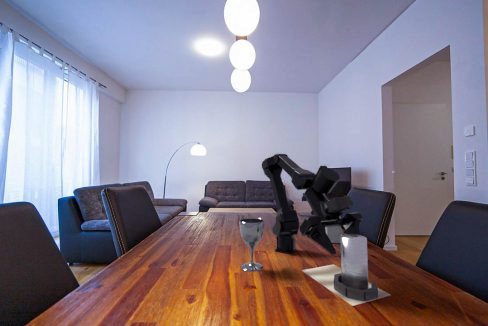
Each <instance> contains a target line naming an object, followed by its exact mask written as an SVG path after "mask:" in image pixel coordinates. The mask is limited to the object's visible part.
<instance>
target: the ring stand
mask: <svg viewBox="0 0 488 326" xmlns="http://www.w3.org/2000/svg"><path fill="white" fill-rule="evenodd" d="M301 272H303V273H304V274H305V275H307V276H308V277H310V278H312V279H313V280H315V281H316V282H317V283H319V284H320V285H322V286H323V287H325V288H326V289H328V290H329V291H330V292H332V293H333V294H334V295H336V296H337V297H339V298H340V299H342V300H343V301H345V302H346V303H347V304H349V305H350V306H352V307H354V306H358V305H361V304H365V303H369V302H372V301H375V300H378V299H379V300H380V299H382V298H386V297H390V296H391V294H390V293H389V292H387V291H384V289H381V288H378V284H377V282H376V281H370V282H368V289H365V290H360V289H355V288H350V287H347V286H345V285H344V284H342V275H341V267H339V266H337V265H335V264H334V263H333V264H329V265H328V264H327V265H323V266H319V267H318V266H317V267H313V268H306V269H302V270H301Z"/></svg>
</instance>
